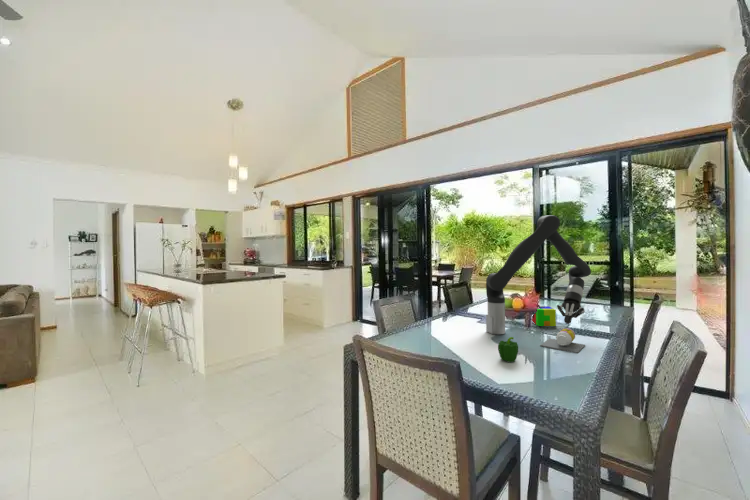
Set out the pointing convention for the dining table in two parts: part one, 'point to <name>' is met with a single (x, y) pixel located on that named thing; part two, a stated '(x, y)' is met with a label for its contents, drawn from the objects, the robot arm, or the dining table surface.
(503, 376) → the dining table surface
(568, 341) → the supplement bottle
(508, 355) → the bell pepper
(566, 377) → the dining table surface
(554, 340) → the mat
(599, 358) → the dining table surface
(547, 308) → the puzzle toy
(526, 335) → the dining table surface
